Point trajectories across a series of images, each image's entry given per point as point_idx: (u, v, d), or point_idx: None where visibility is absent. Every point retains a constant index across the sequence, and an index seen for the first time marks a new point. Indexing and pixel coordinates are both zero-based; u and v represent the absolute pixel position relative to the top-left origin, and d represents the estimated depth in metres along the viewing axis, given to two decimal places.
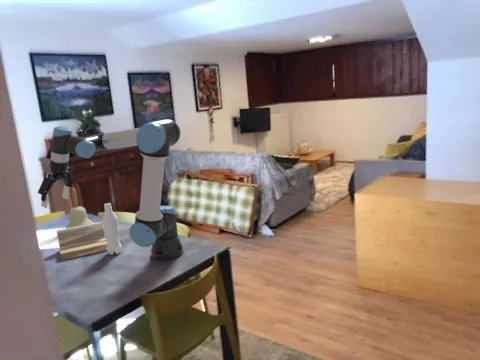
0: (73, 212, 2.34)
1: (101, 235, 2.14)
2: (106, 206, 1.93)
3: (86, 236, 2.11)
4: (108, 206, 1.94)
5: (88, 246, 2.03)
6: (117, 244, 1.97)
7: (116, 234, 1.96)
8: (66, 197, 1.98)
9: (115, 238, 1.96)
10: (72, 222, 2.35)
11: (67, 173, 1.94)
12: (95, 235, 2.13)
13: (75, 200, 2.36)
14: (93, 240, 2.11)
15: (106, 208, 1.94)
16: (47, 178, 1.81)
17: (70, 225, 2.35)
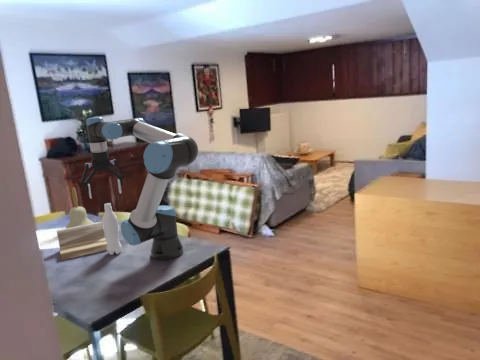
0: (73, 212, 2.34)
1: (101, 235, 2.14)
2: (106, 206, 1.93)
3: (86, 236, 2.11)
4: (108, 206, 1.94)
5: (88, 246, 2.03)
6: (117, 244, 1.97)
7: (116, 234, 1.96)
8: (119, 191, 1.95)
9: (115, 238, 1.96)
10: (72, 222, 2.35)
11: (115, 165, 1.93)
12: (95, 235, 2.13)
13: (75, 200, 2.36)
14: (93, 240, 2.11)
15: (106, 208, 1.94)
16: (85, 168, 1.87)
17: (70, 225, 2.35)
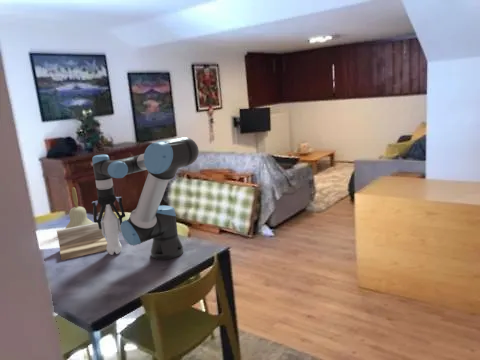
0: (73, 212, 2.34)
1: (101, 235, 2.14)
2: (106, 206, 1.93)
3: (86, 236, 2.11)
4: (108, 206, 1.94)
5: (88, 246, 2.03)
6: (117, 244, 1.97)
7: (116, 234, 1.96)
8: (119, 230, 1.98)
9: (115, 238, 1.96)
10: (72, 222, 2.35)
11: (119, 203, 1.97)
12: (95, 235, 2.13)
13: (75, 200, 2.36)
14: (93, 240, 2.11)
15: (106, 208, 1.94)
16: (93, 206, 1.92)
17: (70, 225, 2.35)
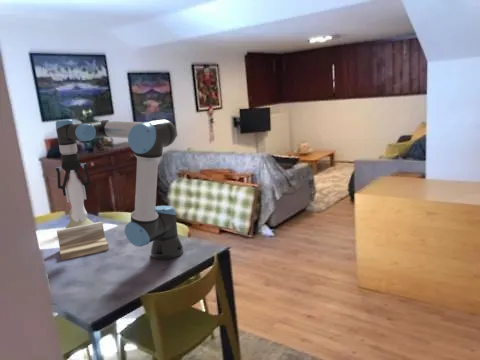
0: None
1: (101, 235, 2.14)
2: (70, 172, 1.91)
3: (86, 236, 2.11)
4: (72, 172, 1.92)
5: (88, 246, 2.03)
6: (82, 211, 1.95)
7: (81, 201, 1.94)
8: None
9: (80, 205, 1.94)
10: (72, 222, 2.35)
11: (84, 169, 1.95)
12: (95, 235, 2.13)
13: None
14: (93, 240, 2.11)
15: (70, 174, 1.92)
16: (57, 172, 1.90)
17: (70, 225, 2.35)
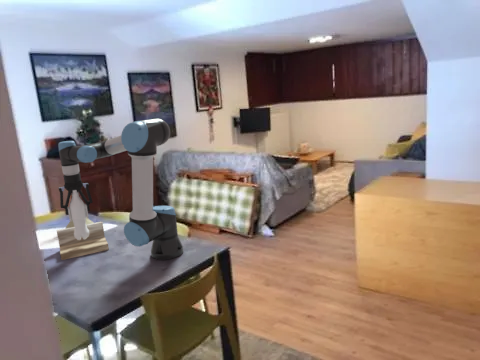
0: None
1: (101, 235, 2.14)
2: (73, 192, 1.96)
3: None
4: (75, 192, 1.96)
5: (88, 246, 2.03)
6: (84, 229, 2.00)
7: (83, 220, 1.99)
8: None
9: (82, 224, 1.99)
10: (72, 222, 2.35)
11: (86, 189, 1.99)
12: (95, 235, 2.13)
13: None
14: (93, 240, 2.11)
15: (73, 194, 1.96)
16: (60, 192, 1.94)
17: (70, 225, 2.35)
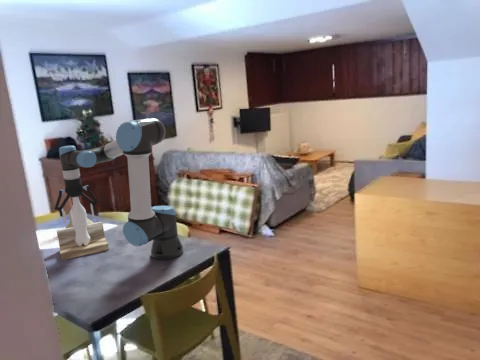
0: None
1: (101, 235, 2.14)
2: (74, 199, 1.99)
3: None
4: (76, 199, 1.99)
5: (88, 246, 2.03)
6: (85, 236, 2.03)
7: (84, 226, 2.02)
8: (92, 215, 2.04)
9: (83, 230, 2.02)
10: None
11: (88, 191, 2.02)
12: (95, 235, 2.13)
13: None
14: (93, 240, 2.11)
15: (74, 201, 1.99)
16: (59, 194, 1.96)
17: (70, 225, 2.35)
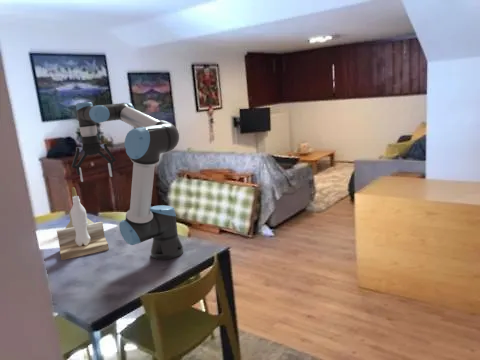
0: None
1: (101, 235, 2.14)
2: (74, 199, 1.99)
3: None
4: (76, 199, 1.99)
5: (88, 246, 2.03)
6: (85, 236, 2.03)
7: (84, 226, 2.02)
8: (110, 174, 2.01)
9: (83, 230, 2.02)
10: None
11: (105, 149, 1.99)
12: (95, 235, 2.13)
13: None
14: (93, 240, 2.11)
15: (74, 201, 1.99)
16: (76, 152, 1.93)
17: (70, 225, 2.35)
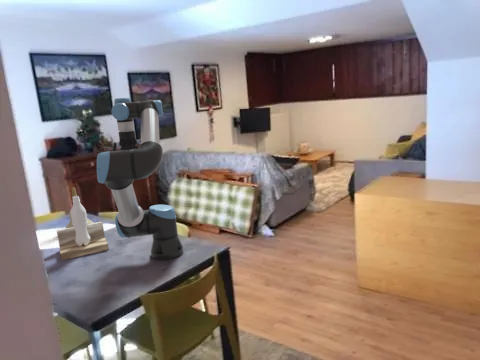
0: None
1: (101, 235, 2.14)
2: (74, 199, 1.99)
3: None
4: (76, 199, 1.99)
5: (88, 246, 2.03)
6: (85, 236, 2.03)
7: (84, 226, 2.02)
8: None
9: (83, 230, 2.02)
10: None
11: None
12: (95, 235, 2.13)
13: None
14: (93, 240, 2.11)
15: (74, 201, 1.99)
16: (113, 146, 1.95)
17: (70, 225, 2.35)
